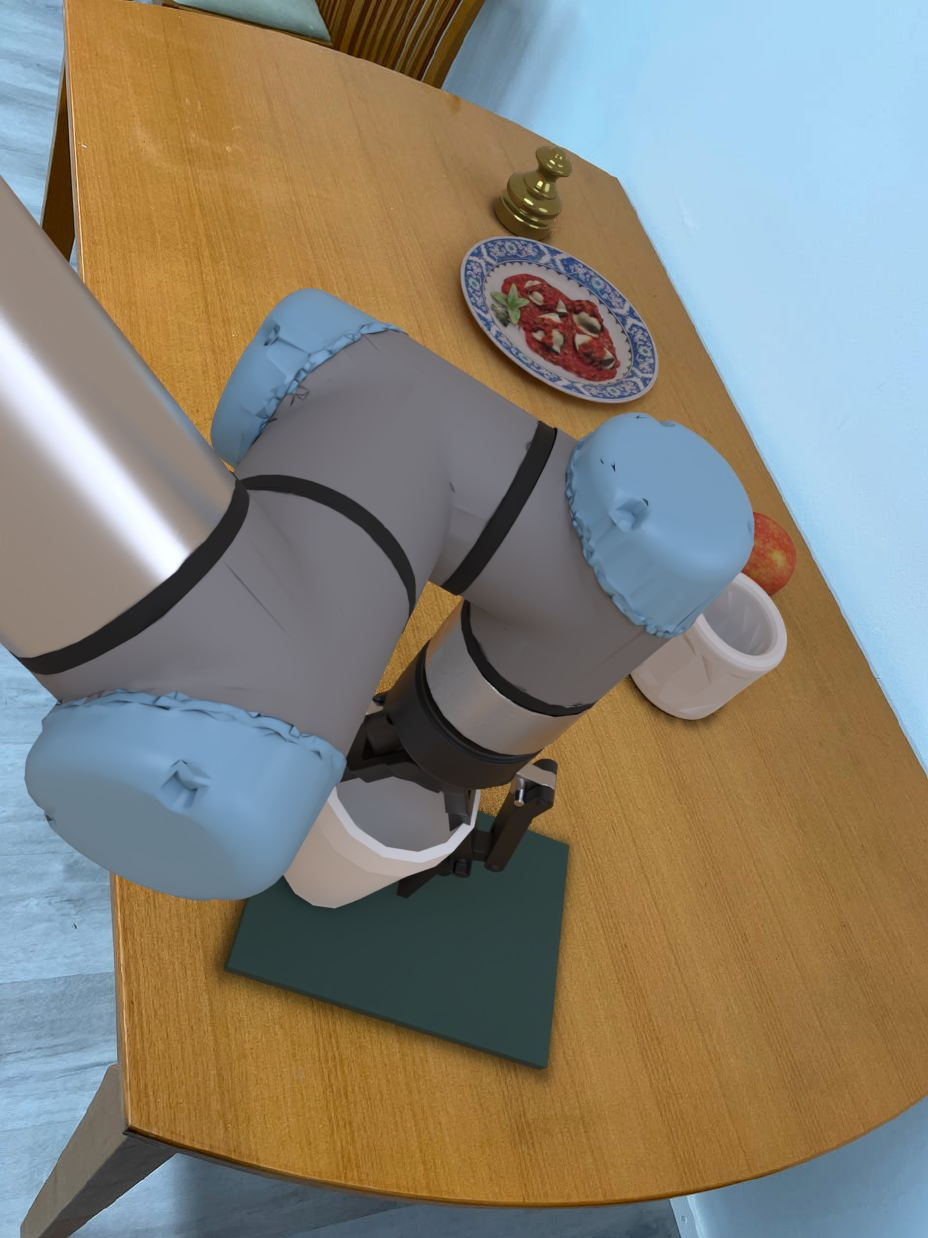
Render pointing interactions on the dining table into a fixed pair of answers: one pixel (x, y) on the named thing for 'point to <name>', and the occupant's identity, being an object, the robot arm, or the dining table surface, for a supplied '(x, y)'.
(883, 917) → the dining table surface
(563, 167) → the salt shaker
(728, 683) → the mug
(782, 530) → the apple
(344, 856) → the foam cup
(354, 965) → the mat
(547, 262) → the ceramic plate
